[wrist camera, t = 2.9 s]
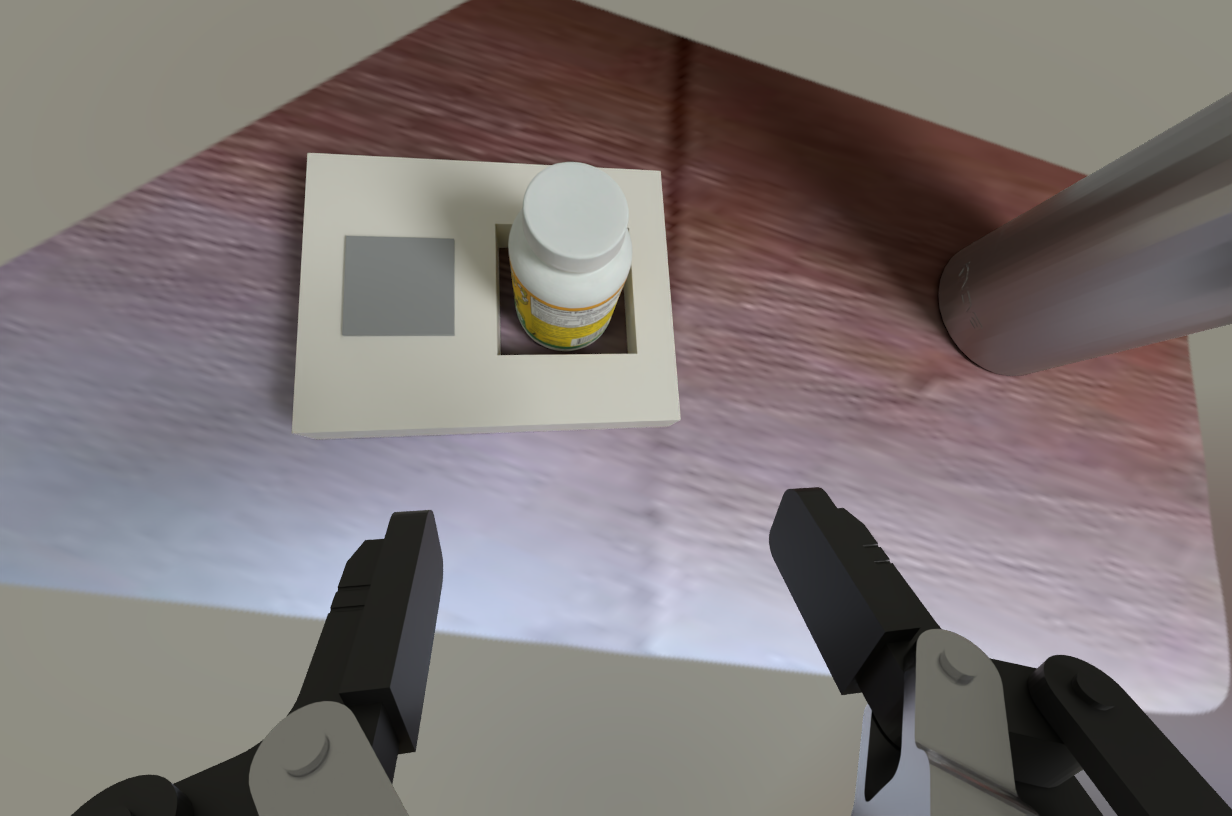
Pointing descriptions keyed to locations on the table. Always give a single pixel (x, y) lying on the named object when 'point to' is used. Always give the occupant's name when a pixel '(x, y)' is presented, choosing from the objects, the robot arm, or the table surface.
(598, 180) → the supplement bottle
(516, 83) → the table surface
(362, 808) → the robot arm
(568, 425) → the socket dock
